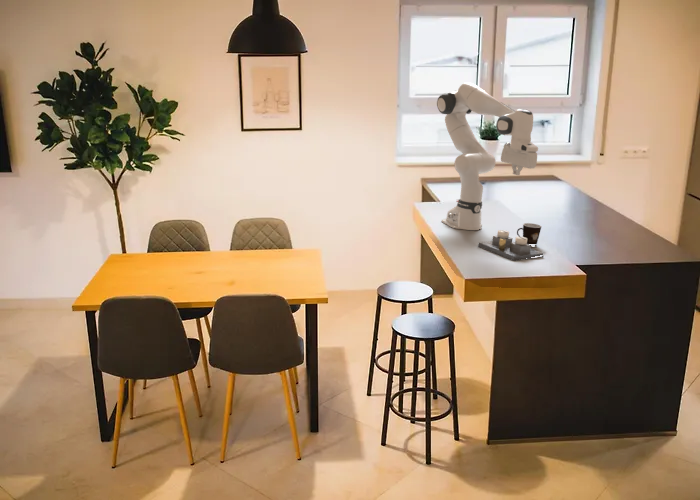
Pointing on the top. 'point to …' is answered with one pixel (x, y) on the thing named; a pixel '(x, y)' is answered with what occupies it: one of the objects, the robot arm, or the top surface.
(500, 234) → the knob
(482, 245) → the mount plate
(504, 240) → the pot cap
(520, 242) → the knob
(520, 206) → the top surface
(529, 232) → the coffee mug
